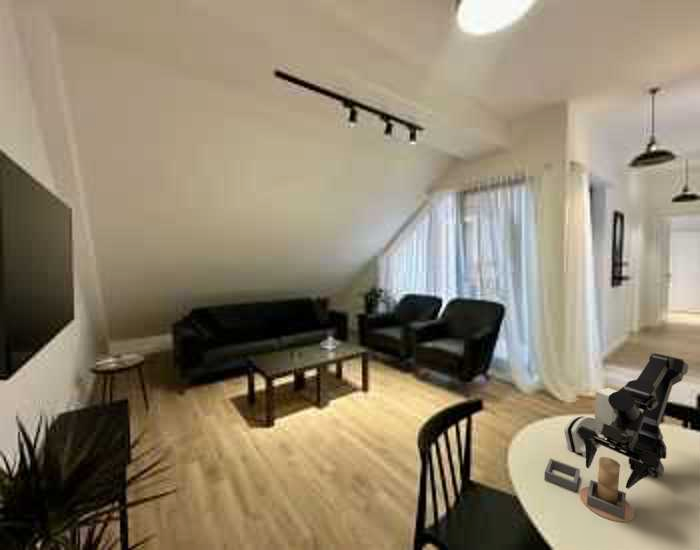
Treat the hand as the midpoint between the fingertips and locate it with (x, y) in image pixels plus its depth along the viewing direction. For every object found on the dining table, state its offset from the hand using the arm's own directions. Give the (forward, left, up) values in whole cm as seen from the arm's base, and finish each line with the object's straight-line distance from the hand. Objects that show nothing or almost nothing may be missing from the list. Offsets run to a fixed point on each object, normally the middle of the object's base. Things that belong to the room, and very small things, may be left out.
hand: (606, 477), depth 91 cm
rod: (0, -1, -8) cm, 8 cm away
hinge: (+8, -30, -9) cm, 32 cm away
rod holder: (+11, -5, -8) cm, 14 cm away
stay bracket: (0, -1, -8) cm, 8 cm away
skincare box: (+2, -44, -9) cm, 45 cm away
